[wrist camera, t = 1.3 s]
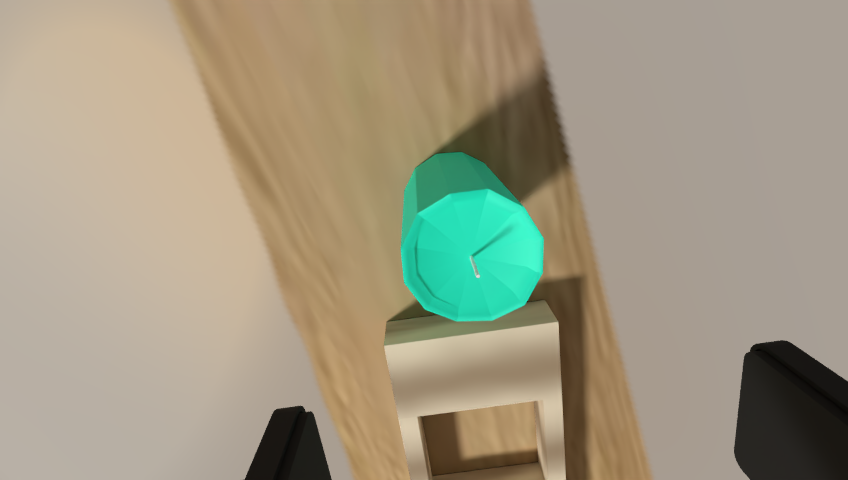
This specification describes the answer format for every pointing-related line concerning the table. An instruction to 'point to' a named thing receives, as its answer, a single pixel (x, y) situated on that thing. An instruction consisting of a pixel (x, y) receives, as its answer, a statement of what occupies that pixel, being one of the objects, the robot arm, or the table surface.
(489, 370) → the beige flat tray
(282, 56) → the table surface
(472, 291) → the candle
